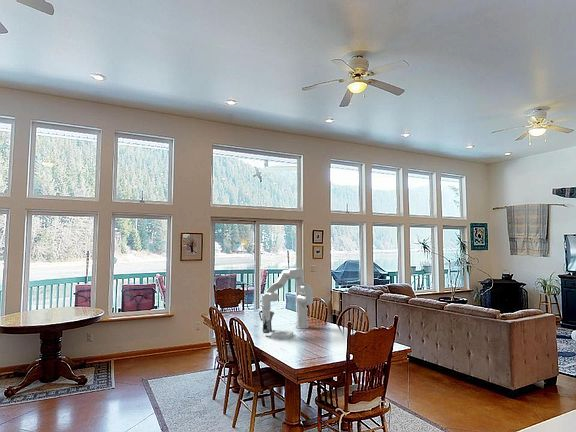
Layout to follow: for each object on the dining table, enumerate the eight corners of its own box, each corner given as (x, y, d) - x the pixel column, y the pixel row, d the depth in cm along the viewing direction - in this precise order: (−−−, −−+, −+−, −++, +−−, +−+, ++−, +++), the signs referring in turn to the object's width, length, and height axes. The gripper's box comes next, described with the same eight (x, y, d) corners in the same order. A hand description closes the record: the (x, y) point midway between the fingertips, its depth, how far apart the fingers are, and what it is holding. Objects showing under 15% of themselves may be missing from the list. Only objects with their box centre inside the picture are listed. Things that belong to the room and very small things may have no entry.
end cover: (264, 331, 338) (264, 318, 339) (270, 331, 337) (270, 319, 337) (262, 333, 332) (262, 320, 333) (268, 333, 331) (268, 320, 332)
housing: (276, 333, 343) (276, 330, 343) (293, 334, 339) (293, 331, 339) (271, 338, 327) (270, 334, 327) (288, 339, 323) (288, 335, 323)
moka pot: (273, 332, 349) (273, 310, 350) (257, 331, 352) (257, 309, 353) (275, 329, 358) (275, 308, 360) (260, 329, 361) (260, 307, 363)
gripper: (265, 306, 345) (265, 326, 344) (259, 309, 329) (259, 330, 327) (273, 306, 343) (273, 326, 342) (267, 309, 327) (267, 330, 325)
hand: (266, 328), depth 335 cm, fingers closed on end cover, 6 cm apart
